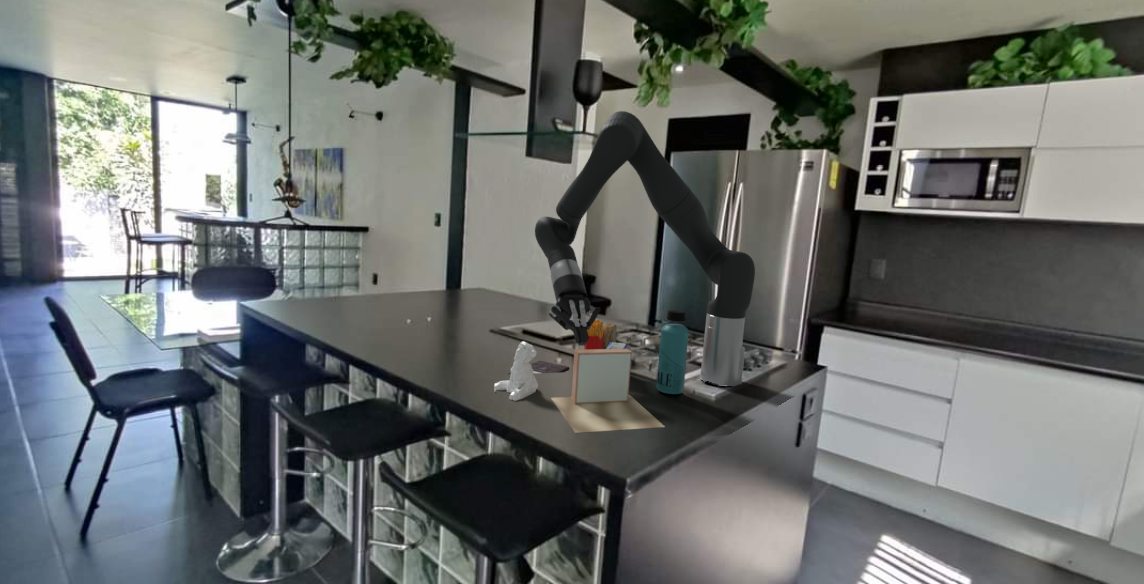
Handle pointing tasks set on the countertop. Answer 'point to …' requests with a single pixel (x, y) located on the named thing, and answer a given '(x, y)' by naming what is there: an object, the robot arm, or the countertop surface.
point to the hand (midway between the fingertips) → (583, 343)
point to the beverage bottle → (672, 355)
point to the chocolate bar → (547, 367)
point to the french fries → (595, 336)
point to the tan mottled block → (609, 334)
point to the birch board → (606, 415)
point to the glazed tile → (601, 375)
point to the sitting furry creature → (520, 374)
